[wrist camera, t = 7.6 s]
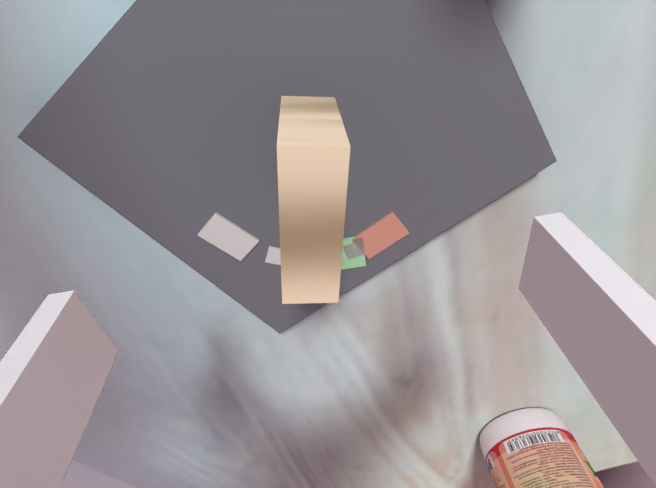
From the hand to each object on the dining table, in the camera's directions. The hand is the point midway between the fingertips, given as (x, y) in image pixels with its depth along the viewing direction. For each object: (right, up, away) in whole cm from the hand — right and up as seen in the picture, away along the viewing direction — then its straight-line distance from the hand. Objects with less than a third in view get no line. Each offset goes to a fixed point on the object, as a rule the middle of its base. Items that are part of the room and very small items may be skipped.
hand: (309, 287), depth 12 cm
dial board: (-1, +7, +11) cm, 13 cm away
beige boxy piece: (-1, +4, +11) cm, 12 cm away
